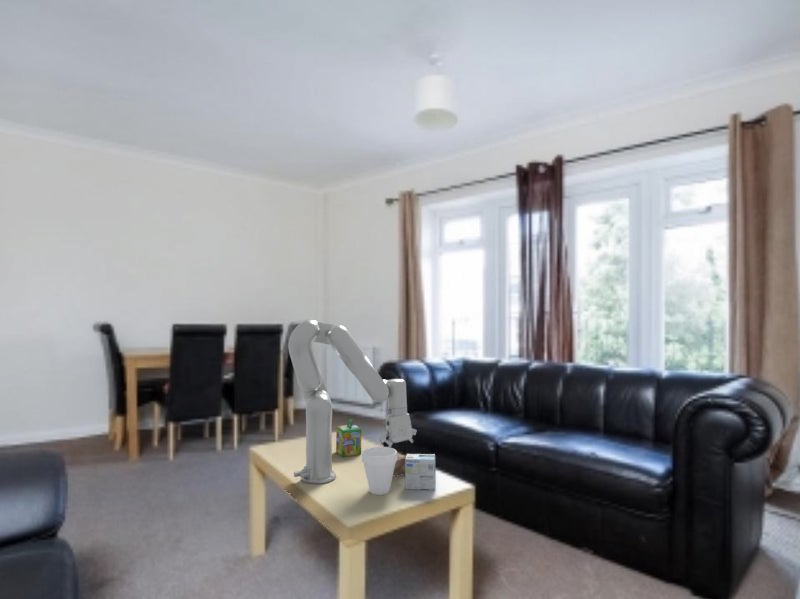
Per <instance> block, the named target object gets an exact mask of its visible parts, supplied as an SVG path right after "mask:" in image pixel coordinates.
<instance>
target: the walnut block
mask: <svg viewBox="0 0 800 599" xmlns="http://www.w3.org/2000/svg"><path fill="white" fill-rule="evenodd" d="M405 458H406V455H405V456H404V455H402V454H399V453H398V454H397V461H396V463H395V468H394V472H393V475H395V476H394V477H398V476H397V475H399V476H402V475H401V474H403V475H405Z"/></svg>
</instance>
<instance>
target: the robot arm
mask: <svg viewBox="0 0 800 599" xmlns="http://www.w3.org/2000/svg"><path fill="white" fill-rule="evenodd" d="M313 343H318V344H324V345H329V346H331V347H332V349H333V351H334V352H335V353H336V354H337V355H338V356H339V359H340V360H341V361H342V363H343V364H344V365H345V367H346V368H347V369H348V371H349V372H350V373H351V375H353V376H354V377H355V378H356V380H357V381H358V382H359V383H360V385H361V386H362V387H363V389H364V390H365V392H366V394H368V396H369V397H370V399H371V400H372V401H374V402H376V403H383V402H384V401H387V409H386V410H385V414H387V415H386V419H385V432H383V434H381V435H380V437H379V439H378V440H379V441H380V443H381V445H382V447H389V448H392V445H393V444H397V443H402V442H405V452H406V453H407V454H413V443H414V441H415V439H416V434H417V431H418V430H417V429H415V428H413V426H412V421H411V417H410V413H408V403H407V401H408V400H407V398H408V397H407V383H406V380H405V379H403V378H391V379H383V378H382V377H381V375H380V374H379V373H378V371H377V370H376V369H375V367H374V366H373V364H372V363H371V361H370V359H369V358H368V356H367V355H366V353H365V352H364V351H363V349H362V348H361V346H359V344H358V343H357V341H356V340H355V339H354V337H353V336H352V334H351V333H350V331H349V330H348V329H347V328H346V327H345V326H344V325H340V324H334V323H330V322H323V321H319V320H314V319H304V320H302V321H300V322H299V323H298V324H297V325H296V327H294V328H293V330H292V332H291V333H290V335H289V339H288V347H287V348H288V352H289V358H290V359H291V363H292V367H293V369H294V373H295V376H296V380H297V385H298V386H299V387H300V389H301V392H302V395H303V397H304V401H305V422H306V423H305V428H306V429H305V437H306V438H305V440H306V442H305V446H306V448H305V453H306V454H305V457H306V458H305V459H306V460H305V461H306V464H305V466H303V468H302V469H301V470H296V471H294V472H293V476H294V478H297V477H300V478H301V479H302V481H303V482H304V483H308V484H315V485H316V484H324V483H325V484H326V483H329V482H332V481H333V480H335V479H336V478H337V473H336V472H335V471H334V470H332V469H333V457H332V455H333V448H332V447H333V445H332V444H333V443H332V442H333V440H332V438H333V435H332V434H333V433H332V432H333V431H332V430H333V428H332V423H333V422H332V420H333V405H332V400H331V397H330V394H329V390H328V388H327V385H326V381H325V380H324V377H323V373H322V371H321V369H320V368H319V367H318V364H317V361H316V358H315V357H316V356H315V355H314V351H313V348H312V347H313Z"/></svg>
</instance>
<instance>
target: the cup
mask: <svg viewBox="0 0 800 599" xmlns="http://www.w3.org/2000/svg"><path fill="white" fill-rule="evenodd" d="M397 453H398V451H397V450H396V449H395V448H393V447H390V448H389V447H384V446H373V447H368V448H365V449H364V450H361V462H362V463H363V467H364V471H365V476H366V480H367V484H368V488H369V492H371V493H370V494H372V495H378V496H382V495H386V494H389V492H390V490H391V486H392V481H393V477H394V476H393V472H394V468H395V463H396V461H397Z"/></svg>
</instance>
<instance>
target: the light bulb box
mask: <svg viewBox="0 0 800 599" xmlns="http://www.w3.org/2000/svg"><path fill="white" fill-rule="evenodd" d="M405 457H406V458H405V474H404V476H405V480H404V482H405V490H421V489H429V490H430V491H436V485H437V483H436V482H437V479H436V478H437V476H436V473H437V472H436V471H437V468H436V454H435V453H429V454H428V453H426V454H425V453H423V454H422V453H406V455H405ZM429 490H428V491H429Z"/></svg>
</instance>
